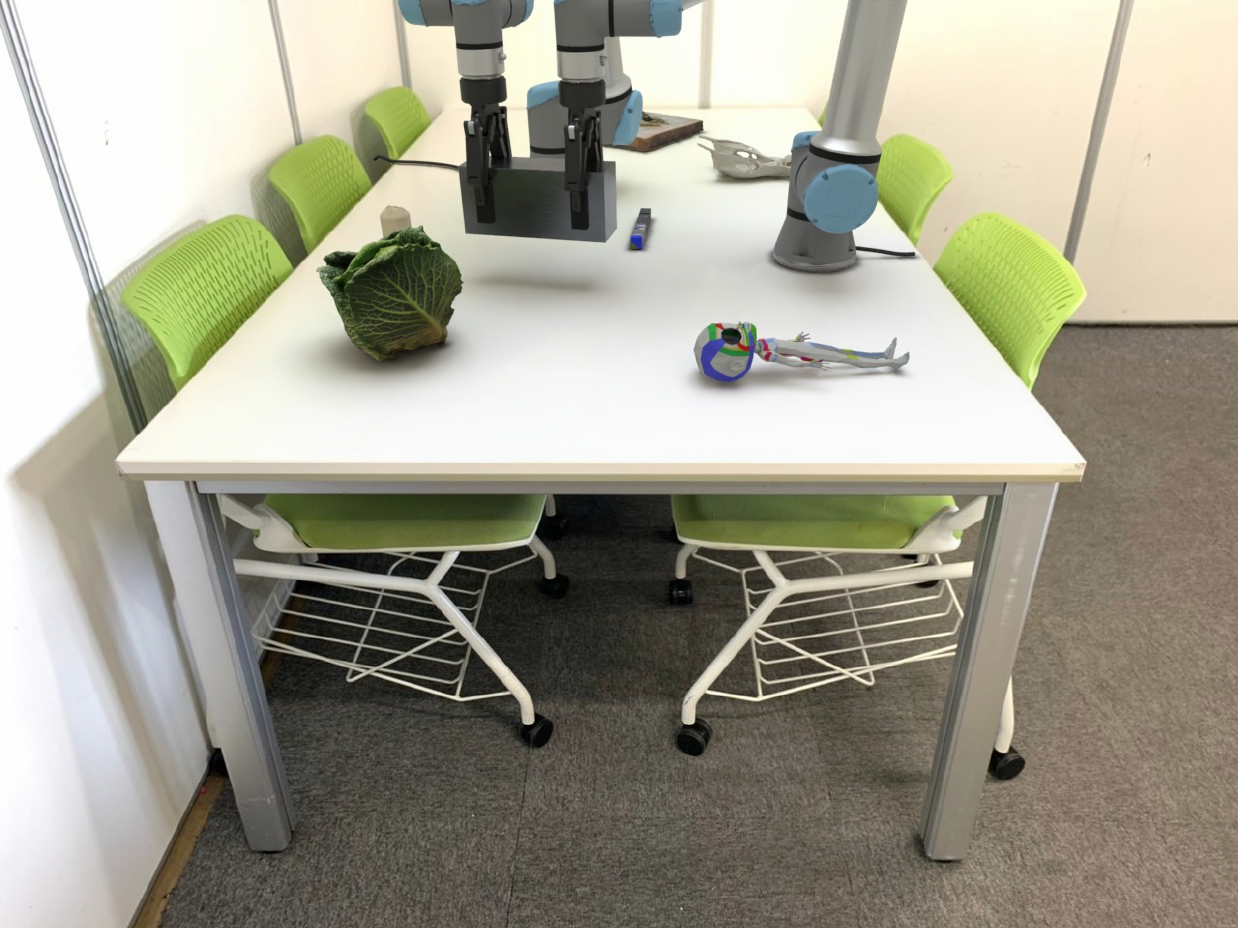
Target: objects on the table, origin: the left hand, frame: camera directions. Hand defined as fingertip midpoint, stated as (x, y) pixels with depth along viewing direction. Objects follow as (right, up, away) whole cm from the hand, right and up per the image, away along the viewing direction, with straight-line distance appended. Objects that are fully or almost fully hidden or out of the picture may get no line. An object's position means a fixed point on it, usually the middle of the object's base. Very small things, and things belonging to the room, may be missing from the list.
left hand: (494, 215), depth 157 cm
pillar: (+26, +3, +26) cm, 37 cm away
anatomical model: (+53, +27, +63) cm, 87 cm away
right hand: (+16, -2, -4) cm, 17 cm away
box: (+8, -3, -1) cm, 9 cm away
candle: (-20, -4, +15) cm, 26 cm away
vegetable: (-12, -26, -19) cm, 34 cm away
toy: (+48, -31, -28) cm, 63 cm away
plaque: (+26, +51, +102) cm, 117 cm away
